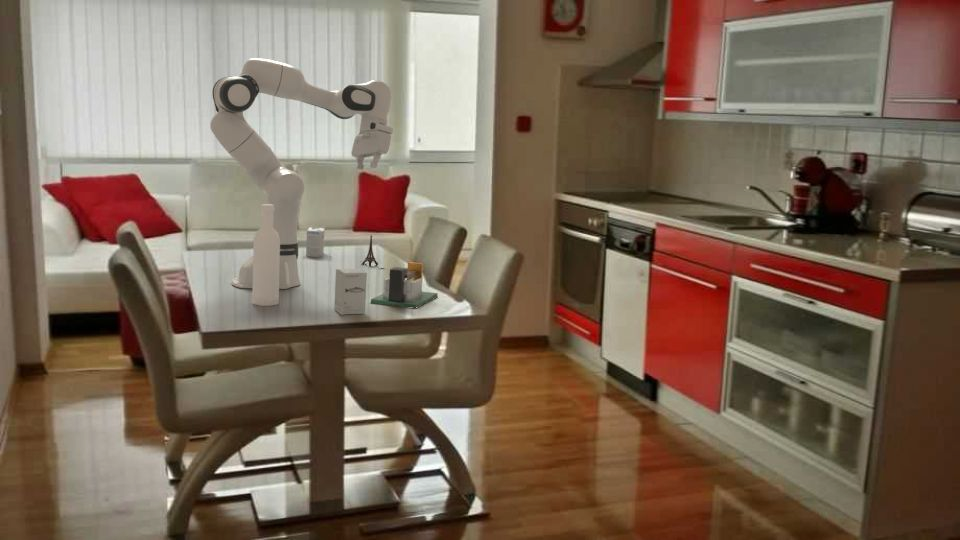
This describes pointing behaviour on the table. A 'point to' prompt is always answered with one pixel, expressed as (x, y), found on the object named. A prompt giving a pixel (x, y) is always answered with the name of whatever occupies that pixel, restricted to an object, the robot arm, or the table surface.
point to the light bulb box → (315, 242)
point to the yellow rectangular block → (414, 270)
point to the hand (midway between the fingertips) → (366, 168)
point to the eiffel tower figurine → (370, 255)
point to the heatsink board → (403, 290)
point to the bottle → (266, 260)
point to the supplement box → (350, 291)
